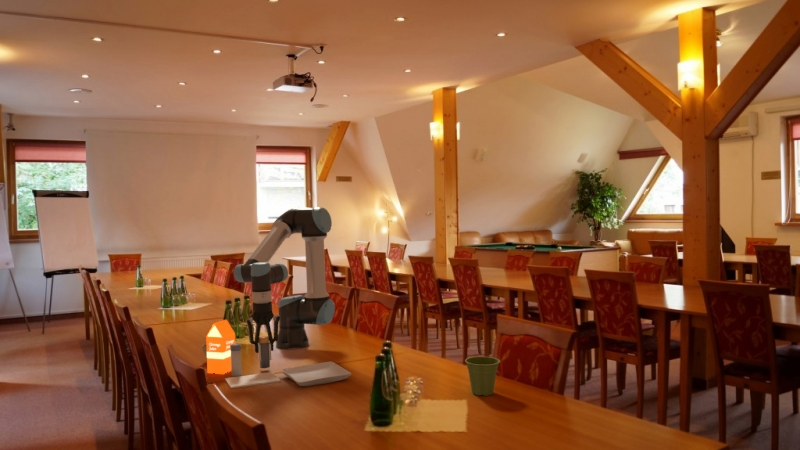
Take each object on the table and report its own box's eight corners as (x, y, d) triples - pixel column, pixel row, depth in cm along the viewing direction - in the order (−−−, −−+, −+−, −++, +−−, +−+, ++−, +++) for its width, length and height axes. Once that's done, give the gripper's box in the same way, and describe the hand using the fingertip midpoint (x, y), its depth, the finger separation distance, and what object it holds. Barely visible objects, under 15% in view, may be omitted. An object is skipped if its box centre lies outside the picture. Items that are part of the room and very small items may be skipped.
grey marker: (240, 373, 246) (239, 343, 246) (242, 375, 242) (241, 345, 242) (230, 374, 244) (229, 344, 244) (232, 377, 241) (231, 346, 240)
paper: (272, 373, 245) (272, 372, 245) (280, 381, 233) (280, 380, 233) (225, 379, 237) (225, 378, 237) (230, 388, 225) (230, 387, 225)
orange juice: (236, 368, 254) (235, 319, 253) (223, 374, 245) (222, 323, 245) (220, 367, 256) (218, 319, 256) (206, 373, 248) (205, 323, 247)
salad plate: (297, 391, 222) (297, 381, 222) (280, 377, 240) (280, 368, 240) (353, 382, 231) (352, 372, 231) (331, 369, 250) (331, 360, 250)
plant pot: (492, 400, 205) (491, 366, 204) (459, 395, 211) (458, 362, 210) (506, 390, 215) (505, 358, 214) (474, 386, 221) (474, 354, 220)
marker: (268, 365, 252) (267, 335, 251) (271, 367, 248) (269, 337, 248) (258, 366, 250) (257, 336, 250) (261, 369, 247) (259, 338, 246)
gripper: (242, 305, 241) (245, 365, 242) (284, 300, 248) (287, 359, 249) (239, 302, 248) (242, 360, 249) (280, 298, 255) (282, 354, 256)
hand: (264, 359), depth 249 cm, fingers closed on marker, 3 cm apart
